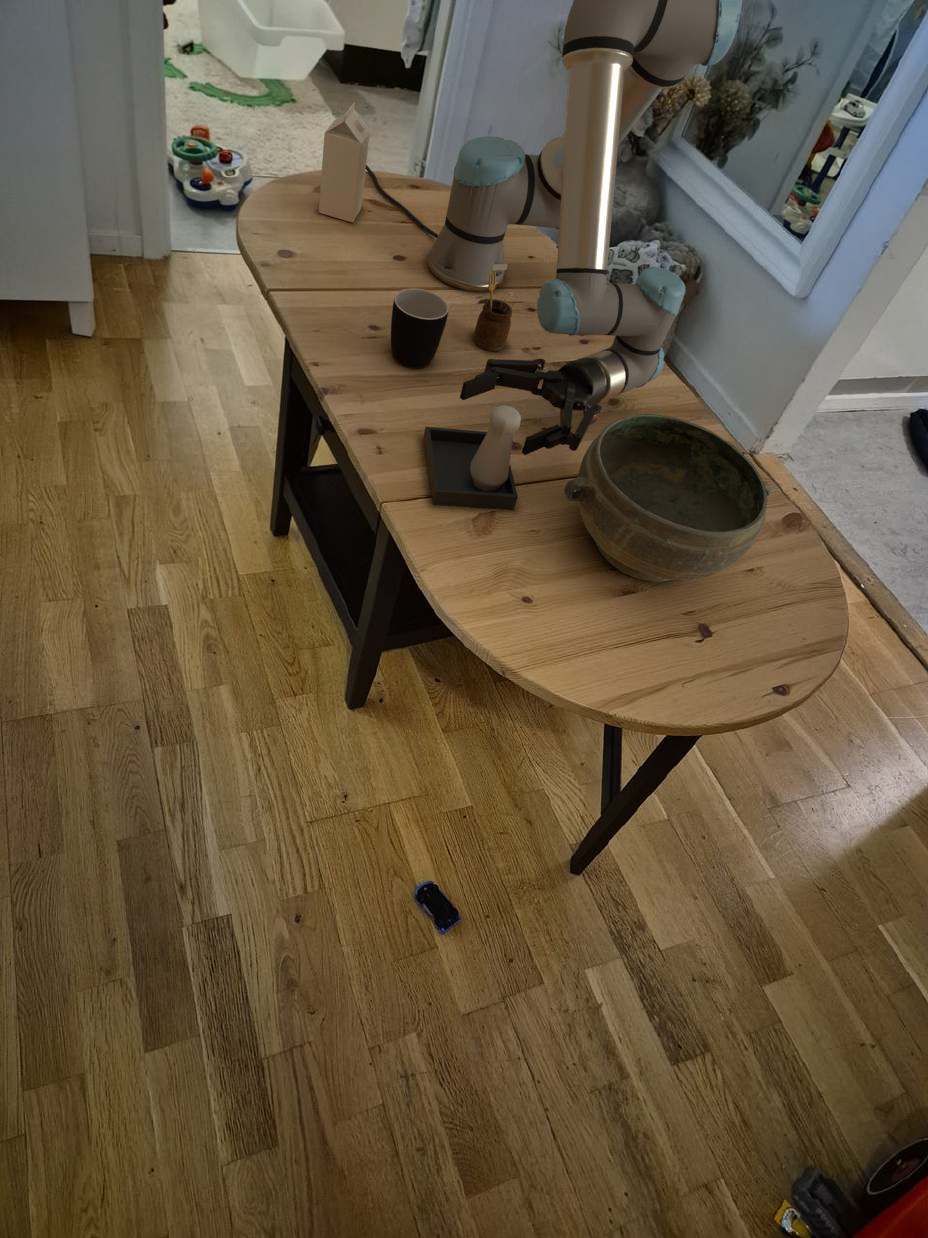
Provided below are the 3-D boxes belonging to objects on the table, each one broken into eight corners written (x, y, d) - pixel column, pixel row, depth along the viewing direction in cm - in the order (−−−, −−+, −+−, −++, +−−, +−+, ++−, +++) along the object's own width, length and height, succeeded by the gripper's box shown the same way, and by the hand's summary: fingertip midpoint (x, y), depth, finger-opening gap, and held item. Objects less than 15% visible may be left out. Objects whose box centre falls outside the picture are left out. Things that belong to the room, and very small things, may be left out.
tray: (422, 439, 123) (425, 426, 121) (498, 446, 126) (502, 433, 124) (432, 504, 114) (435, 491, 112) (513, 509, 117) (518, 496, 115)
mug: (442, 374, 135) (455, 320, 127) (391, 372, 132) (400, 317, 124) (426, 333, 141) (437, 279, 134) (377, 330, 138) (385, 275, 131)
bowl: (700, 485, 131) (744, 411, 119) (770, 609, 116) (828, 538, 104) (517, 484, 121) (546, 403, 110) (568, 619, 106) (608, 542, 95)
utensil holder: (488, 355, 141) (505, 292, 132) (465, 336, 143) (480, 273, 134) (511, 347, 144) (529, 285, 135) (488, 328, 147) (504, 266, 137)
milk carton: (318, 213, 160) (325, 108, 145) (327, 199, 164) (336, 96, 150) (352, 223, 160) (363, 120, 146) (361, 209, 165) (372, 107, 150)
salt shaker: (458, 477, 118) (478, 406, 108) (485, 464, 121) (506, 393, 111) (485, 501, 116) (508, 430, 106) (512, 487, 119) (536, 417, 109)
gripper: (637, 446, 124) (545, 490, 113) (529, 357, 133) (434, 390, 122) (656, 407, 119) (561, 449, 107) (542, 317, 128) (443, 347, 116)
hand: (493, 418), depth 115 cm, fingers open, 13 cm apart
